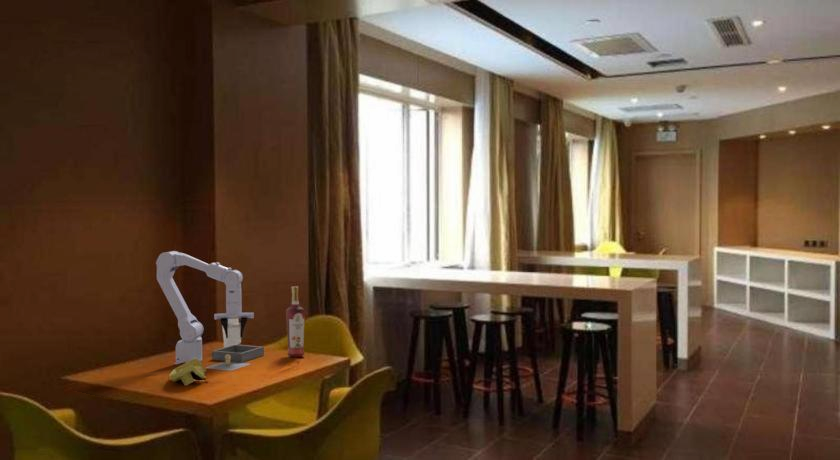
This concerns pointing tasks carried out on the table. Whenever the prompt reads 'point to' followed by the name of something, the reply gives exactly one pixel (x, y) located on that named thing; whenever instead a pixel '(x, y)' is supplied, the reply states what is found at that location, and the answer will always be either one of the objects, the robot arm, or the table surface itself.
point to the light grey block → (234, 333)
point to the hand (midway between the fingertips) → (234, 337)
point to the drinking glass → (225, 334)
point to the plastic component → (188, 371)
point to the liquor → (295, 327)
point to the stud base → (223, 366)
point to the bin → (238, 353)
